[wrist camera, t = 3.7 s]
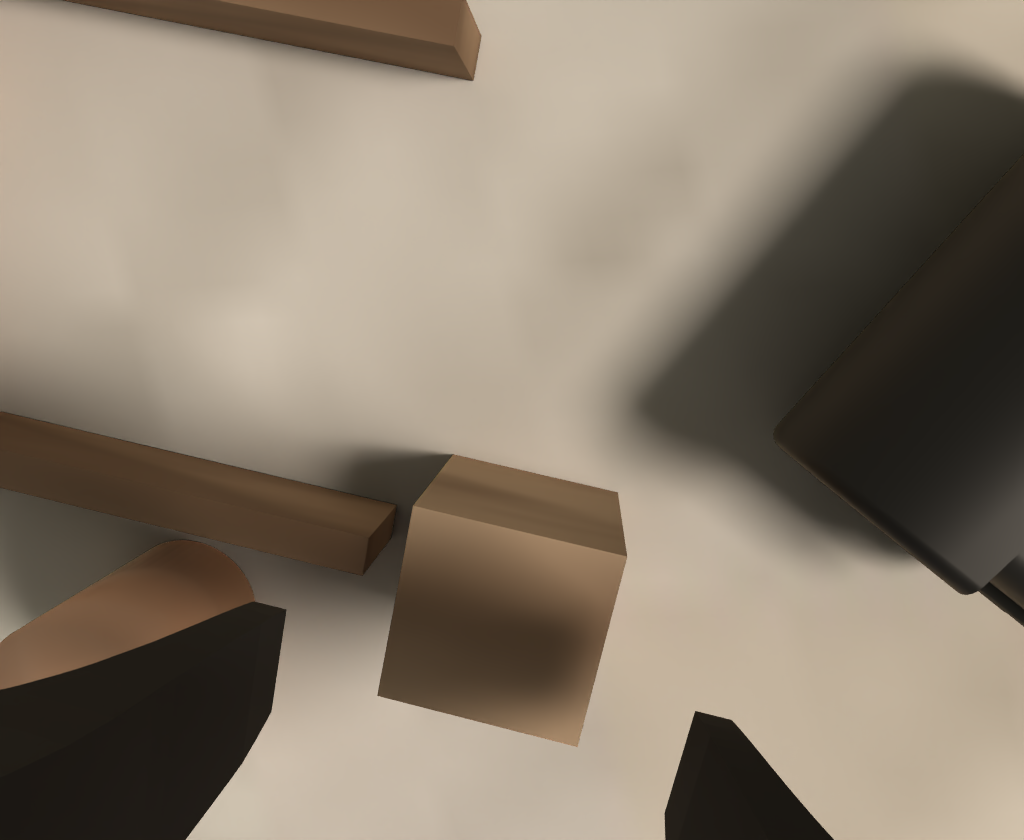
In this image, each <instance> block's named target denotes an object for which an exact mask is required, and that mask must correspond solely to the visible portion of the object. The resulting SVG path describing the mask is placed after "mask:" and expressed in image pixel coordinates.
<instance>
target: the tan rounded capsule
mask: <svg viewBox="0 0 1024 840" xmlns="http://www.w3.org/2000/svg"><path fill="white" fill-rule="evenodd" d="M250 602H255V598H254V594H253V591H252V588H251V586H250V584H249V582H248V580H247V578H246V577H245V575H244V573H243V572H242V571H241V569H240V568H239V567H238V566H237V565H236V564H235V563H234V562H233V561H232V560H231V559H230V558H229V557H228V556H226V555H225V554H224V553H222V552H220V551H219V550H217V549H215V548H213V547H211V546H209V545H207V544H203V543H200V542H196V541H190V540H175V541H169V542H165V543H162V544H159V545H157V546H155V547H153V548H152V549H150V550H148V551H147V552H145V553H143V554H142V555H140V556H138V557H137V558H135V559H133V560H132V561H130V562H128V563H127V564H125V565H123V566H122V567H120V568H119V569H117V570H115V571H114V572H112V573H110V574H109V575H107V576H105V577H104V578H102V579H100V580H99V581H97V582H96V583H94V584H92V585H91V586H89V587H87V588H86V589H84V590H82V591H81V592H79V593H77V594H76V595H74V596H72V597H71V598H69V599H68V600H66V601H64V602H63V603H61V604H59V605H58V606H56V607H54V608H53V609H51V610H49V611H48V612H46V613H44V614H43V615H41V616H40V617H38V618H36V619H35V620H33V621H31V622H30V623H28V624H26V625H25V626H23V627H21V628H20V629H18V630H17V631H15V632H13V633H12V634H10V635H9V636H8V637H6V638H5V639H4V640H3V641H2V642H1V643H0V690H1V689H6V688H10V687H14V686H18V685H22V684H25V683H29V682H33V681H36V680H40V679H44V678H47V677H51V676H55V675H58V674H61V673H65V672H68V671H71V670H75V669H78V668H81V667H84V666H87V665H90V664H93V663H96V662H99V661H101V660H104V659H107V658H110V657H112V656H115V655H118V654H121V653H123V652H126V651H129V650H132V649H134V648H137V647H140V646H143V645H145V644H148V643H151V642H153V641H156V640H158V639H161V638H163V637H166V636H168V635H171V634H173V633H176V632H178V631H180V630H183V629H185V628H188V627H190V626H193V625H195V624H197V623H200V622H202V621H205V620H207V619H209V618H212V617H214V616H217V615H219V614H221V613H224V612H226V611H229V610H231V609H234V608H236V607H239V606H241V605H244V604H247V603H250Z"/></svg>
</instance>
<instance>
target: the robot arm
mask: <svg viewBox="0 0 1024 840" xmlns="http://www.w3.org/2000/svg"><path fill="white" fill-rule="evenodd" d="M285 616H286V609H282V608H278V607H274V606H270V605H266V604H261V603H257V602H250V603H247V604H244V605H241V606H239V607H236V608H234V609H231V610H229V611H226V612H224V613H221V614H219V615H217V616H214V617H212V618H209V619H207V620H205V621H202V622H200V623H197V624H195V625H193V626H190V627H188V628H185V629H183V630H180V631H178V632H176V633H173V634H171V635H168V636H166V637H163V638H161V639H158V640H156V641H153V642H151V643H148V644H145V645H143V646H140V647H137V648H134V649H132V650H129V651H126V652H123V653H121V654H118V655H115V656H112V657H110V658H107V659H104V660H101V661H99V662H96V663H93V664H90V665H87V666H84V667H81V668H78V669H75V670H71V671H68V672H65V673H61V674H58V675H55V676H51V677H47V678H44V679H40V680H36V681H33V682H29V683H25V684H22V685H18V686H14V687H10V688H6V689H1V690H0V840H186V838H187V837H188V836H189V834H190V833H191V832H192V830H193V829H194V828H195V826H196V825H197V824H198V822H199V821H200V820H201V818H202V817H203V816H204V814H205V813H206V812H207V810H208V809H209V808H210V806H211V805H212V804H213V802H214V801H215V800H216V798H217V797H218V795H219V794H220V793H221V791H222V790H223V789H224V787H225V786H226V785H227V783H228V782H229V781H230V779H231V778H232V777H233V775H234V774H235V772H236V771H237V770H238V768H239V767H240V765H241V764H242V762H243V761H244V759H245V757H246V756H247V754H248V752H249V751H250V749H251V747H252V745H253V744H254V742H255V740H256V739H257V737H258V735H259V733H260V731H261V729H262V728H263V726H264V724H265V722H266V720H267V719H268V717H269V715H270V713H271V710H272V704H273V697H274V690H275V683H276V676H277V670H278V663H279V656H280V649H281V643H282V636H283V629H284V622H285ZM665 838H666V840H834V839H833V838H832V837H831V836H830V835H829V834H828V833H827V832H826V830H825V829H824V828H823V827H822V826H821V825H820V824H819V823H818V822H817V820H816V819H815V818H814V817H813V816H812V815H811V814H810V812H809V811H808V810H807V809H806V808H805V807H804V806H803V804H802V803H801V802H800V801H799V800H798V799H797V797H796V796H795V795H794V794H793V793H792V791H791V790H790V789H789V788H788V787H787V785H786V784H785V783H784V782H783V781H782V779H781V778H780V777H779V776H778V775H777V773H776V772H775V771H774V770H773V769H772V767H771V766H770V765H769V764H768V762H767V761H766V760H765V759H764V758H763V756H762V755H761V754H760V753H759V751H758V750H757V749H756V748H755V747H754V745H753V744H752V743H751V742H750V741H749V739H748V738H747V737H746V736H745V735H744V733H743V732H742V731H741V730H740V729H739V728H738V727H737V725H736V724H735V723H734V722H733V721H732V720H729V719H725V718H721V717H717V716H713V715H709V714H705V713H701V712H697V711H695V714H694V717H693V720H692V724H691V727H690V730H689V734H688V737H687V740H686V744H685V747H684V750H683V754H682V757H681V760H680V764H679V767H678V770H677V774H676V777H675V780H674V784H673V787H672V790H671V794H670V797H669V800H668V804H667V807H666V810H665Z"/></svg>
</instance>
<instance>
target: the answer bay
mask: <svg viewBox="0 0 1024 840" xmlns="http://www.w3.org/2000/svg"><path fill="white" fill-rule="evenodd" d="M65 1H70V2H75V3H80V4H85V5H90V6H95V7H101V8H106V9H111V10H116V11H121V12H126V13H131V14H136V15H141V16H146V17H152V18H157V19H162V20H167V21H172V22H177V23H182V24H187V25H192V26H197V27H203V28H208V29H213V30H218V31H223V32H228V33H233V34H238V35H243V36H248V37H254V38H259V39H264V40H269V41H274V42H279V43H284V44H289V45H294V46H299V47H305V48H310V49H315V50H320V51H325V52H330V53H335V54H340V55H345V56H351V57H356V58H361V59H366V60H371V61H376V62H381V63H386V64H391V65H396V66H402V67H407V68H412V69H417V70H422V71H427V72H432V73H437V74H442V75H447V76H453V77H458V78H463V79H468V80H474V74H475V69H476V63H477V58H478V52H479V47H480V41H481V34H480V32H479V29H478V27H477V25H476V22H475V20H474V18H473V15H472V13H471V11H470V8H469V6H468V3H467V1H466V0H65ZM0 488H4V489H8V490H12V491H16V492H20V493H24V494H29V495H33V496H37V497H41V498H45V499H49V500H53V501H57V502H61V503H66V504H70V505H74V506H78V507H82V508H86V509H90V510H94V511H98V512H102V513H107V514H111V515H115V516H119V517H123V518H127V519H131V520H135V521H139V522H144V523H148V524H152V525H156V526H160V527H164V528H168V529H172V530H176V531H181V532H185V533H189V534H193V535H197V536H201V537H205V538H209V539H213V540H218V541H222V542H226V543H230V544H234V545H238V546H242V547H246V548H250V549H255V550H259V551H263V552H267V553H271V554H275V555H279V556H283V557H287V558H292V559H296V560H300V561H304V562H308V563H312V564H316V565H320V566H324V567H329V568H333V569H337V570H341V571H345V572H349V573H353V574H357V575H361V576H363V574H364V573H365V572H366V570H367V569H368V568H369V566H370V565H371V564H372V563H373V561H374V560H375V559H376V557H377V556H378V555H379V553H380V552H381V551H382V549H383V548H384V547H385V546H386V544H387V543H388V542H389V540H390V539H391V535H392V529H393V523H394V518H395V512H396V507H397V505H394V504H390V503H386V502H381V501H377V500H373V499H369V498H365V497H360V496H356V495H352V494H348V493H343V492H339V491H335V490H331V489H326V488H322V487H318V486H314V485H309V484H305V483H301V482H297V481H293V480H288V479H284V478H280V477H276V476H271V475H267V474H263V473H259V472H254V471H250V470H246V469H242V468H237V467H233V466H229V465H225V464H221V463H216V462H212V461H208V460H204V459H199V458H195V457H191V456H187V455H182V454H178V453H174V452H170V451H165V450H161V449H157V448H153V447H149V446H144V445H140V444H136V443H132V442H127V441H123V440H119V439H115V438H110V437H106V436H102V435H98V434H94V433H89V432H85V431H81V430H77V429H72V428H68V427H64V426H60V425H55V424H51V423H47V422H43V421H38V420H34V419H30V418H26V417H22V416H17V415H13V414H9V413H5V412H0Z"/></svg>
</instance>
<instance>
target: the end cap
mask: <svg viewBox="0 0 1024 840" xmlns="http://www.w3.org/2000/svg"><path fill="white" fill-rule="evenodd" d="M773 437H774V440H775V443H776V444H777V445H778V446H779V447H780V448H781V449H782V450H783V451H785V452H786V453H787V454H788V455H789V456H790V457H792V458H793V459H794V460H795V461H796V462H798V463H799V464H800V465H801V466H803V467H804V468H805V469H806V470H807V471H809V472H810V473H811V474H812V475H813V476H815V477H816V478H817V479H818V480H820V481H821V482H822V483H823V484H824V485H826V486H827V487H828V488H829V489H831V490H832V491H833V492H834V493H836V494H837V495H838V496H839V497H840V498H842V499H843V500H844V501H845V502H847V503H848V504H849V505H850V506H851V507H853V508H854V509H855V510H856V511H858V512H859V513H860V514H861V515H863V516H864V517H865V518H866V519H868V520H869V521H870V522H871V523H872V524H874V525H875V526H876V527H877V528H879V529H880V530H881V531H882V532H884V533H885V534H886V535H887V536H889V537H890V538H891V539H892V540H894V541H895V542H896V543H897V544H898V545H900V546H901V547H902V548H903V549H905V550H906V551H907V552H908V553H910V554H911V555H912V556H913V557H915V558H916V559H917V560H918V561H920V562H921V563H922V564H923V565H925V566H926V567H927V568H928V569H930V570H931V571H932V572H933V573H935V574H936V575H937V576H938V577H940V578H941V579H942V580H943V581H945V582H946V583H947V584H948V585H950V586H951V587H952V588H953V589H955V590H956V591H957V592H958V593H960V594H964V595H968V594H973V593H975V592H977V591H979V592H980V593H981V594H983V595H984V596H985V597H986V598H988V599H989V600H990V601H991V602H993V603H994V604H995V605H996V606H998V607H999V608H1000V609H1001V610H1003V611H1004V612H1006V613H1008V614H1009V615H1010V616H1011V617H1013V618H1014V619H1015V620H1016V621H1018V622H1019V623H1020V624H1021V625H1023V626H1024V154H1023V155H1022V156H1021V157H1020V159H1019V160H1018V161H1017V162H1016V163H1015V164H1014V165H1013V166H1012V167H1011V168H1010V170H1009V171H1008V172H1007V173H1006V174H1005V175H1004V176H1003V177H1002V178H1001V179H1000V181H999V182H998V183H997V184H996V185H995V186H994V187H993V188H992V189H991V190H990V192H989V193H988V194H987V195H986V196H985V197H984V198H983V199H982V200H981V201H980V203H979V204H978V205H977V206H976V207H975V208H974V209H973V210H972V211H971V212H970V214H969V215H968V216H967V217H966V218H965V219H964V220H963V221H962V222H961V223H960V225H959V226H958V227H957V228H956V229H955V230H954V231H953V232H952V233H951V234H950V236H949V237H948V238H947V239H946V240H945V241H944V242H943V243H942V244H941V245H940V247H939V248H938V249H937V250H936V251H935V252H934V253H933V254H932V255H931V257H930V258H929V259H928V260H927V261H926V262H925V263H924V264H923V265H922V266H921V268H920V269H919V270H918V271H917V272H916V273H915V274H914V275H913V276H912V277H911V279H910V280H909V281H908V282H907V283H906V284H905V285H904V286H903V287H902V288H901V290H900V291H899V292H898V293H897V294H896V295H895V296H894V297H893V298H892V299H891V301H890V302H889V303H888V304H887V305H886V306H885V307H884V308H883V309H882V310H881V312H880V313H879V314H878V315H877V316H876V317H875V318H874V319H873V320H872V321H871V323H870V324H869V325H868V326H867V327H866V328H865V329H864V330H863V331H862V332H861V334H860V335H859V336H858V337H857V338H856V339H855V340H854V341H853V342H852V343H851V345H850V346H849V347H848V348H847V349H846V350H845V351H844V352H843V353H842V354H841V356H840V357H839V358H838V359H837V360H836V361H835V362H834V363H833V364H832V365H831V367H830V368H829V369H828V370H827V371H826V372H825V373H824V374H823V375H822V376H821V378H820V379H819V380H818V381H817V382H816V383H815V384H814V385H813V386H812V387H811V389H810V390H809V391H808V392H807V393H806V394H805V395H804V396H803V397H802V398H801V400H800V401H799V402H798V403H797V404H796V405H795V406H794V407H793V408H792V409H791V411H790V412H789V413H788V414H787V415H786V416H785V417H784V418H783V419H782V421H781V422H780V423H779V424H778V425H777V426H776V428H775V429H774V433H773Z"/></svg>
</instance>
